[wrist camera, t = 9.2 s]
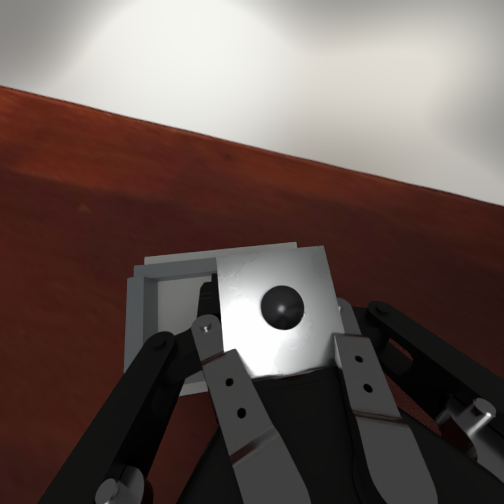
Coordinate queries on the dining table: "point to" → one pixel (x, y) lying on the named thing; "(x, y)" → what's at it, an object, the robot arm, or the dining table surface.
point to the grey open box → (174, 299)
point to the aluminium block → (279, 310)
